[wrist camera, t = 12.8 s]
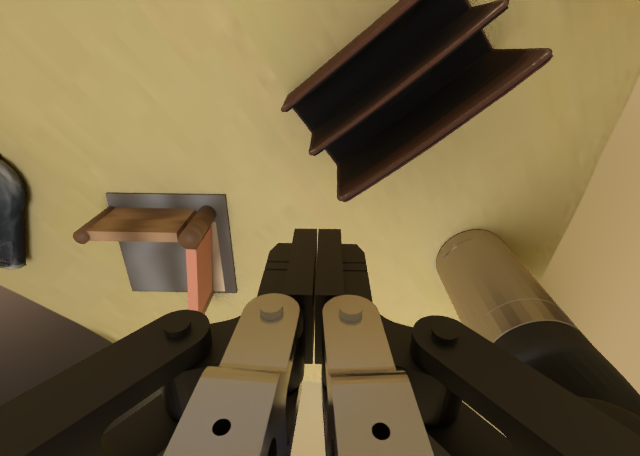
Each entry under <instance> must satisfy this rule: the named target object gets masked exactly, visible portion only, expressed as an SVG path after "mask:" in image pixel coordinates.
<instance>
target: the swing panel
mask: <svg viewBox="0 0 640 456" xmlns="http://www.w3.org/2000/svg"><path fill="white" fill-rule="evenodd" d="M186 265H187V285H188V304H189V310H195V311H199V312H201V313H203V314H205V312H206V310H207V307H208V305H209V303H210V301H211V299H212V296H213V294H214V292H213V290H212V238H211V226H210V227H209V228H208V230H207V232H206V233H205V235H204V236H203V238H202V239H201V241H200V242H199V244H198V246H197V247H196V248H194V249H186Z"/></svg>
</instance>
